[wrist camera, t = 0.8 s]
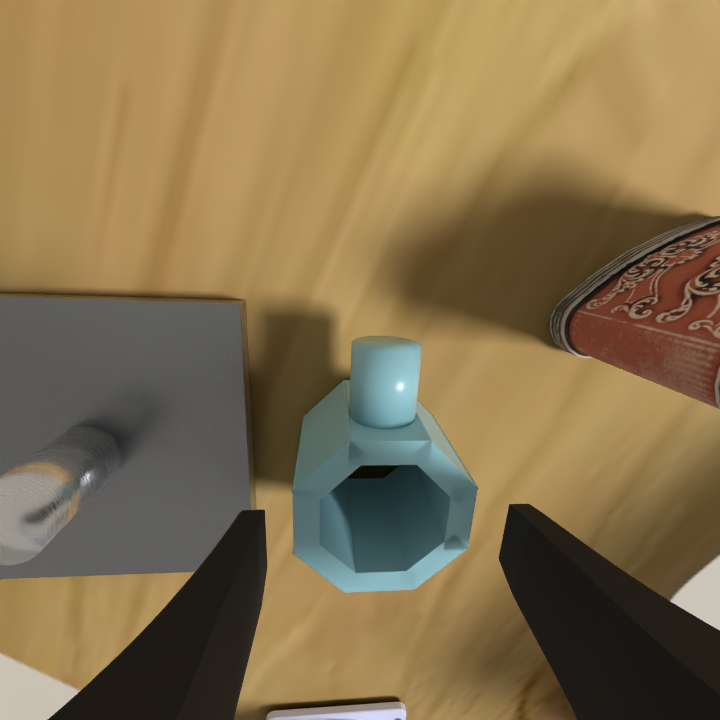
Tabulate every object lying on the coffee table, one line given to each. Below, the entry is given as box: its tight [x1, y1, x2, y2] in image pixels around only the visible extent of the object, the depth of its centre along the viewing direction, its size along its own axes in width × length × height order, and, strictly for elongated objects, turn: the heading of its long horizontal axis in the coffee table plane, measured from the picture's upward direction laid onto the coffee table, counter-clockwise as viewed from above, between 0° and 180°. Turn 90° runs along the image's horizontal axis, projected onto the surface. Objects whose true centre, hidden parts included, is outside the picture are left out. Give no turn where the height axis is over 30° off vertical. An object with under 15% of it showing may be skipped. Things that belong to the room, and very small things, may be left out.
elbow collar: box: [292, 336, 478, 593], centre depth 13 cm, size 8×6×5 cm
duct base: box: [0, 293, 256, 579], centre depth 12 cm, size 12×12×5 cm
